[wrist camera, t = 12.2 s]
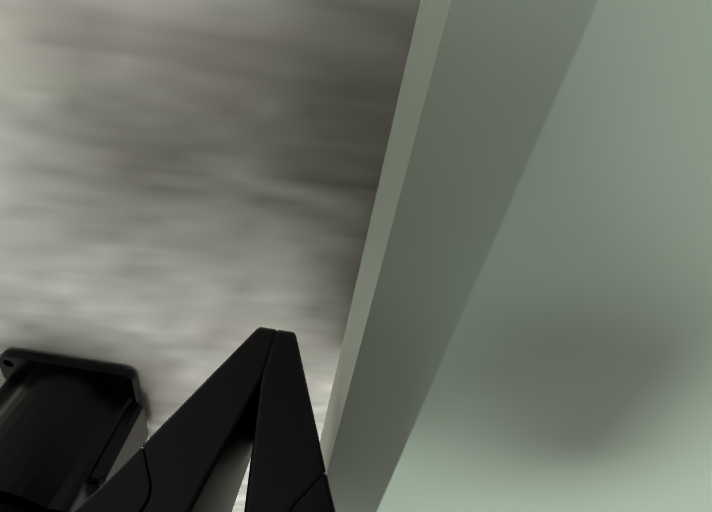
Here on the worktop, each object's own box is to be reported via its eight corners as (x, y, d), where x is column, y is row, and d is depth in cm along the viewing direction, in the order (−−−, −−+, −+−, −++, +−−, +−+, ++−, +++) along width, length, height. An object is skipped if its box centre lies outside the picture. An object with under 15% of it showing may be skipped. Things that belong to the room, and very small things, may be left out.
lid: (307, 496, 15) (292, 604, 13) (445, -108, 6) (488, -141, 3) (724, 556, 16) (786, 669, 13) (1439, 116, 6) (2070, 223, 4)
